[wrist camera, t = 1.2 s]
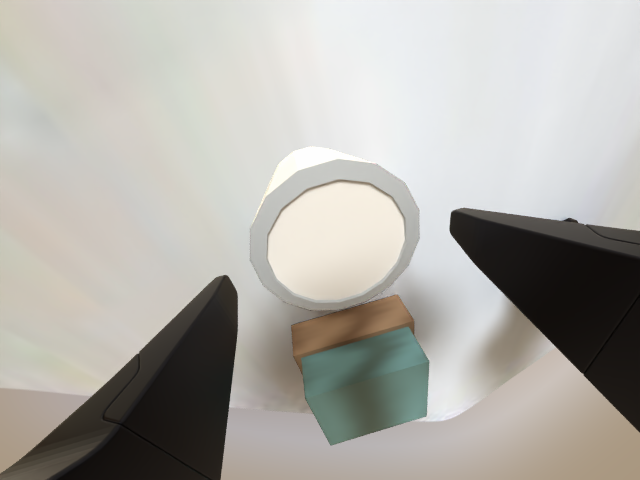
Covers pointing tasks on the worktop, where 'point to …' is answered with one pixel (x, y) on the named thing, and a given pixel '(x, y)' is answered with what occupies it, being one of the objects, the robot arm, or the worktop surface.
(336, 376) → the teal and brown block
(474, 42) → the worktop surface
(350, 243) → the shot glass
